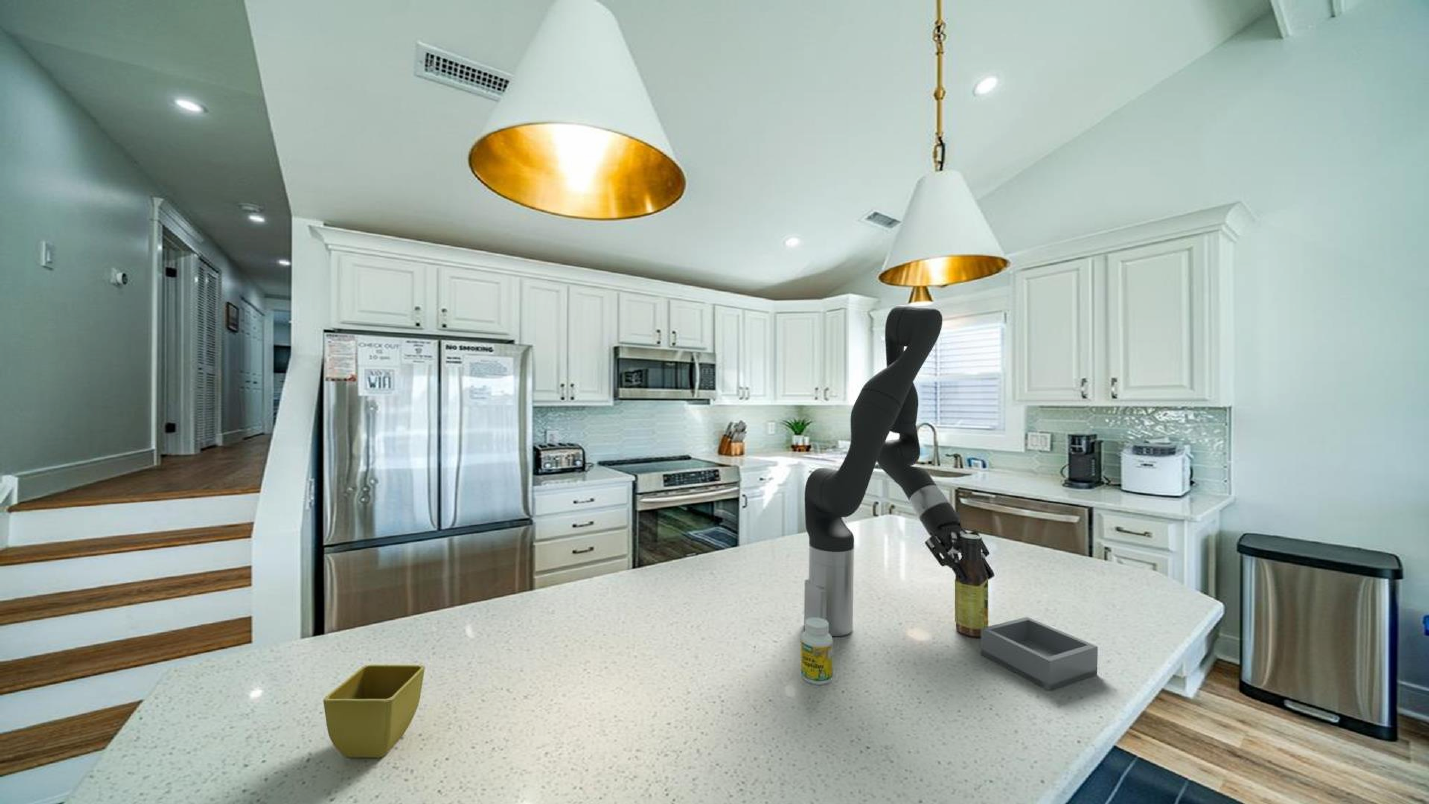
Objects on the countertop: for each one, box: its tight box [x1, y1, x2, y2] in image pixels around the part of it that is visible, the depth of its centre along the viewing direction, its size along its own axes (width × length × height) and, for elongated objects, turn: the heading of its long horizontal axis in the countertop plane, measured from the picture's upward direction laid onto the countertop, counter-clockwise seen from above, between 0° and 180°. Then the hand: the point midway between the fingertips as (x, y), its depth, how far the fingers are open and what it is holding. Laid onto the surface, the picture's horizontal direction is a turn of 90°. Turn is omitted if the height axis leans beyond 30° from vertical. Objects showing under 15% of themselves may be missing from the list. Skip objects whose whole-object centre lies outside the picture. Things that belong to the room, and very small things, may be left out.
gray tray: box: [980, 616, 1099, 692], centre depth 93 cm, size 13×13×5 cm
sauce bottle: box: [954, 534, 989, 638], centre depth 106 cm, size 7×6×20 cm
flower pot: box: [322, 664, 426, 758], centre depth 70 cm, size 9×9×9 cm
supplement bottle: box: [800, 618, 834, 686], centre depth 88 cm, size 5×5×10 cm
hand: (979, 580), depth 105 cm, fingers closed on sauce bottle, 6 cm apart
